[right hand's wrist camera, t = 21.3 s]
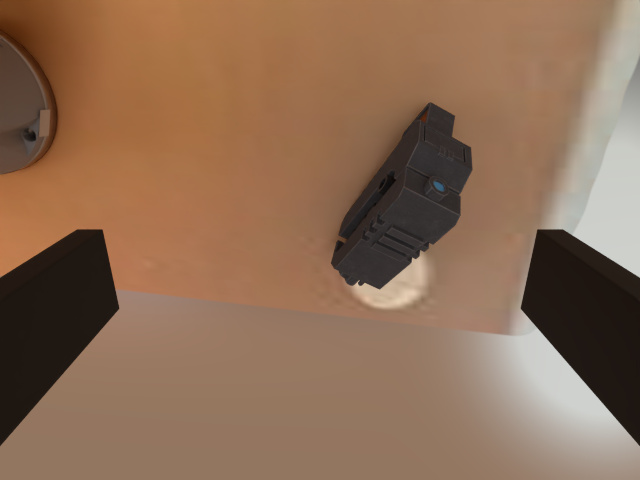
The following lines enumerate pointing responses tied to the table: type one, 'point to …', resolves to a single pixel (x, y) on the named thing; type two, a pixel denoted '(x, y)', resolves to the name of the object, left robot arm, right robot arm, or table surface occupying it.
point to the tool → (405, 202)
